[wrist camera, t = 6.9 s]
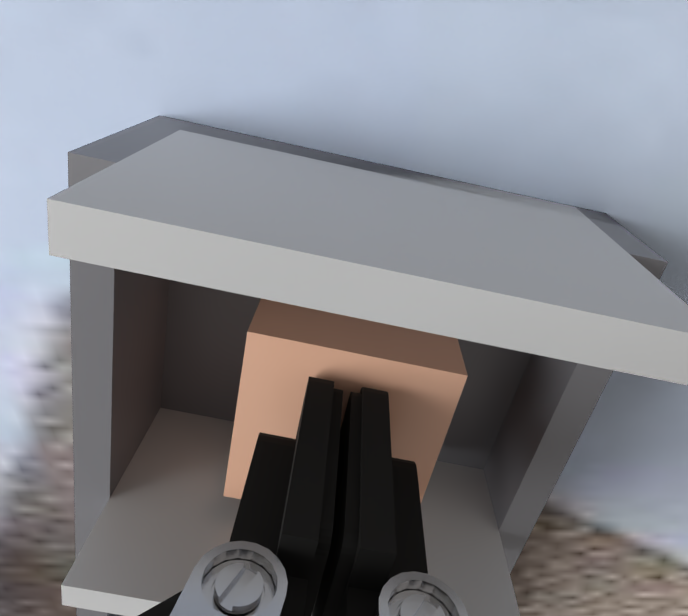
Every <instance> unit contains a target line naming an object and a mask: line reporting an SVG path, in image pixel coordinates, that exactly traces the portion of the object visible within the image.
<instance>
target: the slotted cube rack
mask: <svg viewBox="0 0 688 616" xmlns="http://www.w3.org/2000/svg"><path fill="white" fill-rule="evenodd" d="M68 185H69V188H67V189H65V190H63V191H61V192H59V193H57V194H55V195H53V196H51V197H49V198H47V211H48V238H49V255H51V256H56V257H61V258H66V259H70V292H71V346H72V399H73V453H74V507H75V561H74V563H73V565H72V567H71V568H70V570H69V572H68V574H67V576H66V577H65V579H64V581H63V583H62V585H61V592H62V605H65V606H71V607H76V614H77V616H138V615H140V614H142V613H143V612H145V611H147V610H149V609H150V608H152V607H154V606H156V605H157V604H159V603H161V602H163V601H165V600H166V599H168V598H170V597H172V596H173V595H175V594H177V593H179V592H180V591H182V590H183V589H184V587H185V585H186V583H187V581H188V579H189V577H190V575H191V573H192V571H193V569H194V567H195V566H196V564H197V563H198V562H199V560H200V559H201V558H202V556H203V555H204V554H206V553H207V552H208V551H210V550H211V549H212V548H214V547H216V546H218V545H221V544H224V543H226V542H229V541H230V537H231V534H232V530H233V526H234V523H235V519H236V515H237V512H238V508H239V504H240V501H241V499H236V498H231V497H226V496H223V495H224V488H225V481H226V474H227V467H228V460H229V454H230V447H231V440H232V433H233V426H234V419H235V413H236V406H237V399H238V392H239V385H240V378H241V372H242V365H243V358H244V351H245V344H246V337H247V331H248V329H249V326H250V324H251V322H252V319H253V317H254V314H255V312H256V309H257V307H258V305H259V302H260V300H261V298H262V299H266V300H271V301H276V302H281V303H286V304H291V305H296V306H301V307H306V308H310V309H315V310H320V311H325V312H330V313H335V314H340V315H345V316H350V317H355V318H359V319H364V320H369V321H374V322H379V323H384V324H389V325H394V326H399V327H403V328H408V329H413V330H418V331H423V332H428V333H433V334H438V335H443V336H448V337H452V338H457V339H458V342H459V346H460V350H461V353H462V357H463V360H464V364H465V368H466V371H467V375H468V377H467V379H466V382H465V385H464V387H463V390H462V393H461V396H460V398H459V401H458V404H457V407H456V409H455V412H454V415H453V417H452V420H451V423H450V426H449V428H448V431H447V434H446V436H445V439H444V442H443V445H442V447H441V450H440V453H439V455H438V458H437V461H436V464H435V466H434V469H433V472H432V474H431V477H430V480H429V483H428V485H427V488H426V491H425V493H424V496H423V499H422V502H421V512H422V521H423V531H424V540H425V550H426V559H427V569H428V574H429V575H431V576H433V577H436V578H438V579H440V580H442V581H443V582H444V583H445V584H447V585H448V586H449V587H450V588H452V589H453V590H454V592H455V593H456V594H457V595H458V596H459V598H460V599H461V600H462V602H463V604H464V606H465V608H466V610H467V612H468V615H469V616H520V612H519V608H518V604H517V601H516V597H515V593H514V589H513V585H512V581H511V577H510V573H511V571H512V569H513V567H514V565H515V563H516V561H517V559H518V557H519V555H520V553H521V551H522V549H523V547H524V545H525V543H526V541H527V539H528V537H529V535H530V533H531V531H532V530H533V528H534V526H535V524H536V522H537V520H538V518H539V516H540V514H541V512H542V510H543V508H544V506H545V504H546V502H547V500H548V498H549V496H550V494H551V492H552V490H553V488H554V486H555V484H556V482H557V480H558V478H559V476H560V474H561V472H562V470H563V468H564V466H565V464H566V463H567V461H568V459H569V457H570V455H571V453H572V451H573V449H574V447H575V445H576V443H577V441H578V439H579V437H580V435H581V433H582V431H583V429H584V427H585V425H586V423H587V421H588V419H589V417H590V415H591V413H592V411H593V409H594V407H595V405H596V403H597V401H598V399H599V397H600V396H601V394H602V392H603V390H604V388H605V386H606V384H607V382H608V380H609V378H610V376H611V374H612V372H613V370H614V371H619V372H624V373H629V374H633V375H638V376H643V377H648V378H653V379H658V380H663V381H668V382H673V383H677V384H682V385H687V386H688V305H687V304H686V303H685V302H684V301H683V300H682V299H680V298H679V297H678V296H677V295H676V294H675V293H674V292H672V291H671V290H670V289H669V288H668V287H667V286H665V285H664V284H663V283H662V282H661V281H660V280H659V279H660V277H661V275H662V273H663V271H664V269H665V267H666V265H667V263H668V262H667V261H666V260H665V259H663V258H662V257H661V256H660V255H658V254H657V253H656V252H655V251H653V250H652V249H651V248H649V247H648V246H647V245H646V244H644V243H643V242H642V241H640V240H639V239H638V238H637V237H635V236H634V235H633V234H632V233H630V232H629V231H628V230H626V229H625V228H624V227H623V226H621V225H620V224H619V223H617V222H616V221H615V220H614V219H612V218H611V217H610V216H609V215H607V214H606V213H601V212H597V211H592V210H588V209H583V208H578V207H574V206H569V205H565V204H560V203H556V202H551V201H547V200H542V199H537V198H533V197H528V196H524V195H519V194H515V193H510V192H506V191H501V190H496V189H492V188H487V187H483V186H478V185H474V184H469V183H464V182H460V181H455V180H451V179H446V178H442V177H437V176H433V175H428V174H423V173H419V172H414V171H410V170H405V169H401V168H396V167H392V166H387V165H382V164H378V163H373V162H369V161H364V160H360V159H355V158H350V157H346V156H341V155H337V154H332V153H328V152H323V151H319V150H314V149H309V148H305V147H300V146H296V145H291V144H287V143H282V142H278V141H273V140H268V139H264V138H259V137H255V136H250V135H246V134H241V133H236V132H232V131H227V130H223V129H218V128H214V127H209V126H205V125H200V124H195V123H191V122H186V121H182V120H177V119H173V118H168V117H164V116H157V117H154V118H152V119H149V120H147V121H144V122H142V123H140V124H137V125H135V126H132V127H130V128H127V129H125V130H122V131H120V132H117V133H115V134H112V135H110V136H107V137H105V138H102V139H100V140H97V141H95V142H92V143H90V144H87V145H85V146H82V147H80V148H77V149H75V150H72V151H70V152H68ZM311 616H312V615H311Z"/></svg>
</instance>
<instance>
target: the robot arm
mask: <svg viewBox="0 0 688 616" xmlns="http://www.w3.org/2000/svg"><path fill="white" fill-rule="evenodd" d="M342 402H343V390H340V389H335V388H334V381H330V380H325V379H320V378H315V377H310V376H309V378H308V383H307V387H306V392H305V397H304V401H303V406H302V411H301V415H300V420H299V425H298V430H297V434H296V439H293V438H287V437H282V436H277V435H272V434H266V433H261V432H260V433H259V435H258V439H257V442H256V446H255V449H254V453H253V457H252V460H251V464H250V468H249V471H248V475H247V479H246V482H245V486H244V490H243V493H242V497H241V501H240V504H239V508H238V512H237V515H236V519H235V523H234V526H233V530H232V534H231V537H230V541H229V542H226V543H224V544H221V545H218V546H216V547H214V548H212V549H211V550H210V551H208V552H207V553H206V554H204V555H203V556H202V558H201V559H200V560H199V562H198V563H197V564H196V566H195V567H194V569H193V571H192V573H191V575H190V577H189V579H188V581H187V583H186V585H185V587H184V589H183V590H182V591H180V592H179V593H177V594H175V595H173V596H172V597H170V598H168V599H166V600H165V601H163V602H161V603H159V604H157V605H156V606H154V607H152V608H150V609H149V610H147V611H145V612H143V613H142V614H140V615H138V616H311V615H312V616H469V615H468V612H467V610H466V608H465V606H464V604H463V602H462V600H461V599H460V598H459V596H458V595H457V594H456V593H455V592H454V590H453V589H452V588H450V587H449V586H448V585H447V584H445V583H444V582H443V581H442V580H440V579H438V578H436V577H433V576H431V575H429V574H428V569H427V559H426V550H425V540H424V531H423V521H422V512H421V502H420V493H419V483H418V474H417V467H416V464H415V462H414V461H409V460H404V459H398V458H393V457H392V453H391V433H390V413H389V395H388V392H387V391H382V390H376V389H371V388H366V387H362V388H361V390H360V393H355V392H351V393H350V396H349V399H348V403H347V407H346V411H345V415H344V419H343V422H342V426H341V415H342ZM340 429H341V430H340Z"/></svg>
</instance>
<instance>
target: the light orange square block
mask: <svg viewBox="0 0 688 616" xmlns="http://www.w3.org/2000/svg"><path fill="white" fill-rule="evenodd" d="M309 376H310V377H315V378H320V379H325V380H330V381H334V388H335V389H340V390H343V402H342V415H341V426H342V422H343V419H344V415H345V411H346V407H347V403H348V399H349V396H350V393H351V392H355V393H360V390H361V388H362V387H366V388H371V389H376V390H382V391H387V392H388V395H389V413H390V433H391V453H392V457H393V458H398V459H404V460H409V461H414V462H415V464H416V467H417V474H418V483H419V493H420V502H422V499H423V496H424V493H425V491H426V488H427V485H428V483H429V480H430V477H431V474H432V472H433V469H434V466H435V464H436V461H437V458H438V455H439V453H440V450H441V447H442V445H443V442H444V439H445V436H446V434H447V431H448V428H449V426H450V423H451V420H452V417H453V415H454V412H455V409H456V407H457V404H458V401H459V398H460V396H461V393H462V390H463V387H464V385H465V382H466V379H467V377H468V375H467V371H466V368H465V364H464V360H463V357H462V353H461V350H460V346H459V342H458V339H457V338H452V337H448V336H443V335H438V334H433V333H428V332H423V331H418V330H413V329H408V328H403V327H399V326H394V325H389V324H384V323H379V322H374V321H369V320H364V319H359V318H355V317H350V316H345V315H340V314H335V313H330V312H325V311H320V310H315V309H310V308H306V307H301V306H296V305H291V304H286V303H281V302H276V301H271V300H266V299H262V298H261V300H260V302H259V305H258V307H257V309H256V312H255V314H254V317H253V319H252V322H251V324H250V326H249V329H248V331H247V337H246V344H245V351H244V358H243V365H242V372H241V378H240V385H239V392H238V399H237V406H236V413H235V419H234V426H233V433H232V440H231V447H230V454H229V460H228V467H227V474H226V481H225V488H224V495H223V496H226V497H231V498H236V499H241V497H242V493H243V490H244V486H245V482H246V479H247V475H248V471H249V468H250V464H251V460H252V457H253V453H254V449H255V446H256V442H257V439H258V435H259V433H260V432H261V433H266V434H272V435H277V436H282V437H287V438H293V439H296V434H297V430H298V425H299V420H300V415H301V411H302V406H303V401H304V397H305V392H306V387H307V383H308V378H309ZM340 430H341V429H340Z"/></svg>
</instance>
